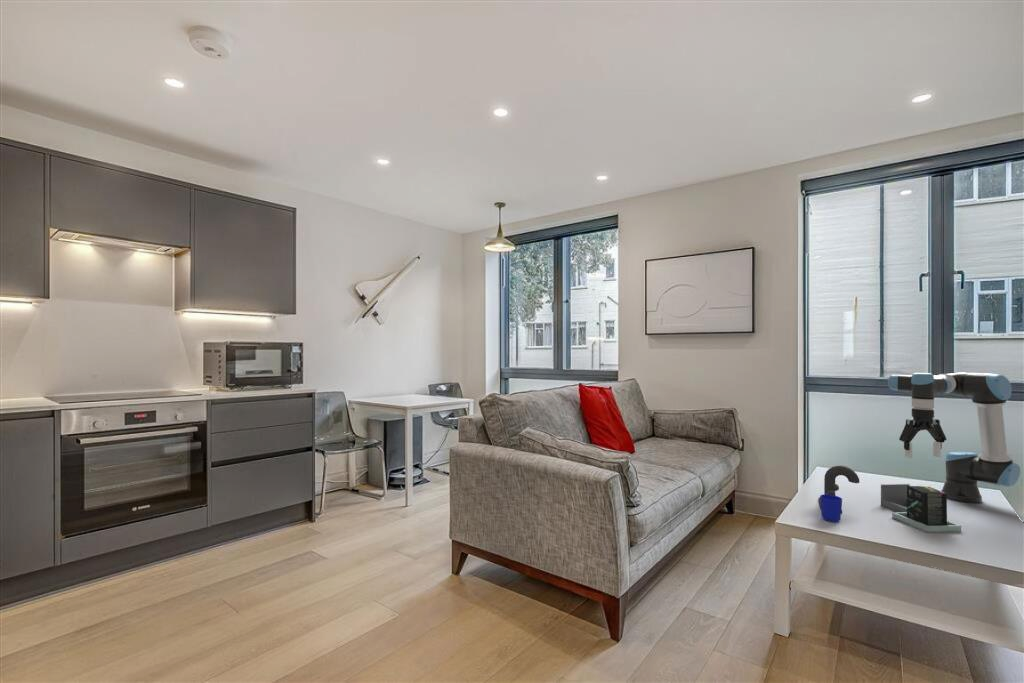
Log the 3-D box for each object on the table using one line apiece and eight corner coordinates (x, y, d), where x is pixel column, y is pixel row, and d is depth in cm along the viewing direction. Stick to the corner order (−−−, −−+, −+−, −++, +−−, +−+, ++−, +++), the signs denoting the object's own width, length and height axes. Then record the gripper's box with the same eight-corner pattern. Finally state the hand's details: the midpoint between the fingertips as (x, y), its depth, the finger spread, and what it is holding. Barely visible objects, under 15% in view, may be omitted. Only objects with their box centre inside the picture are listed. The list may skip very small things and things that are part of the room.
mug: (836, 515, 220) (836, 493, 220) (844, 524, 209) (844, 501, 209) (815, 512, 223) (815, 491, 223) (822, 522, 212) (822, 499, 212)
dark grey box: (947, 528, 203) (948, 493, 203) (923, 527, 204) (923, 492, 204) (929, 519, 214) (929, 485, 214) (906, 518, 215) (906, 484, 215)
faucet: (862, 516, 218) (862, 472, 219) (820, 510, 226) (820, 467, 226) (857, 505, 234) (857, 463, 234) (818, 499, 242) (818, 459, 242)
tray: (923, 517, 218) (923, 511, 218) (961, 531, 201) (961, 525, 201) (892, 517, 217) (892, 512, 217) (927, 532, 200) (927, 526, 200)
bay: (907, 504, 235) (907, 483, 235) (937, 515, 220) (937, 493, 220) (880, 505, 234) (880, 484, 234) (908, 516, 219) (908, 494, 219)
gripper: (940, 406, 217) (940, 454, 217) (888, 407, 215) (889, 455, 214) (957, 409, 209) (957, 458, 209) (904, 410, 207) (904, 459, 207)
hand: (922, 457), depth 212 cm, fingers open, 13 cm apart
